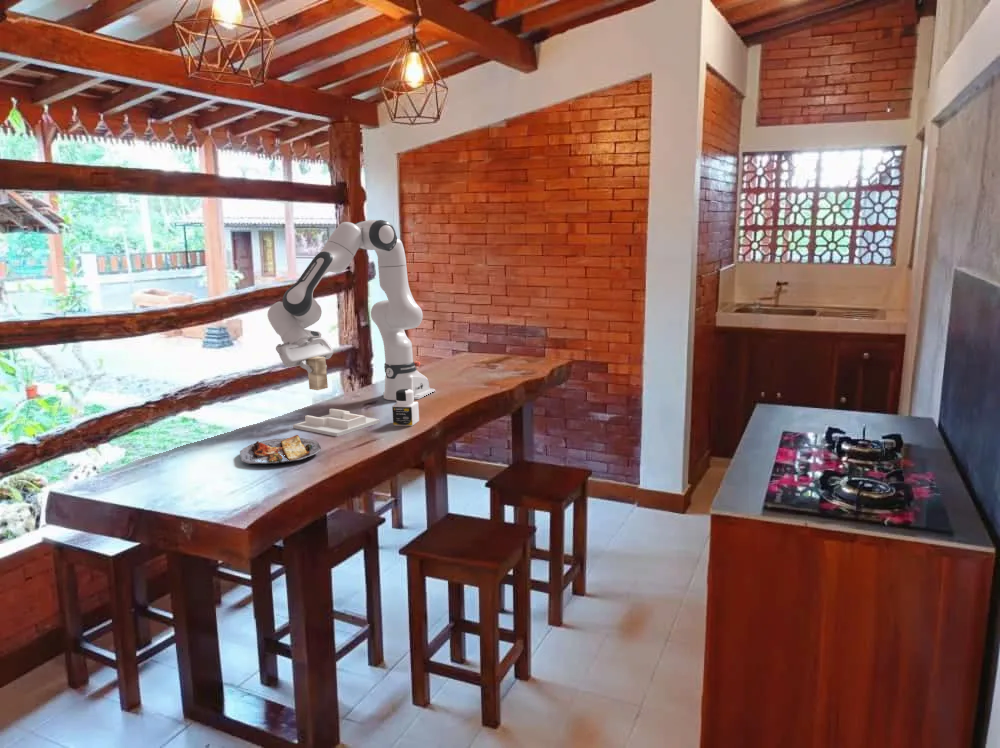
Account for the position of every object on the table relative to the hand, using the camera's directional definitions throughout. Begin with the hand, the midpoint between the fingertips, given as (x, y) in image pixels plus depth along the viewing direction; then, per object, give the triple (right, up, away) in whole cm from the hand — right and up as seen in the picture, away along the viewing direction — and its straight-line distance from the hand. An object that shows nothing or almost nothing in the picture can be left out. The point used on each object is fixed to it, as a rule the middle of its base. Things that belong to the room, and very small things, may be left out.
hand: (318, 370), depth 258 cm
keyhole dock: (+7, -19, -1) cm, 20 cm away
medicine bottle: (+31, -19, -1) cm, 36 cm away
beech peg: (0, -6, +2) cm, 7 cm away
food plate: (-3, -27, -33) cm, 43 cm away
